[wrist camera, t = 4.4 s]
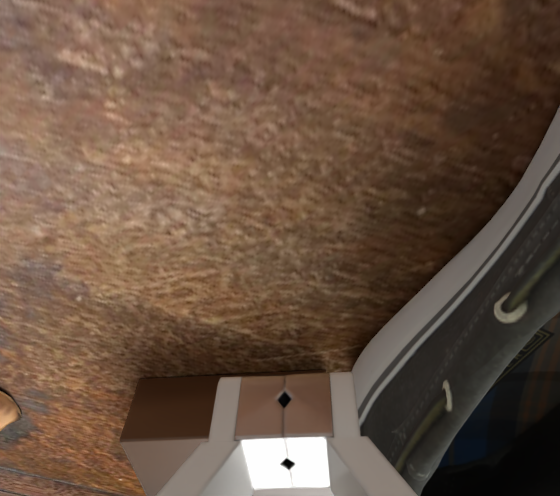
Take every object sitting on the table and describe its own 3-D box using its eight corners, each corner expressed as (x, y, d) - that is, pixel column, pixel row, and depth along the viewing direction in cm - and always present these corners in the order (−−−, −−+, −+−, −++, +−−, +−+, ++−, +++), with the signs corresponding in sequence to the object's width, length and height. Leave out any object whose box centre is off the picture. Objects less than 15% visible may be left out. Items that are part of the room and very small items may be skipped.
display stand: (138, 377, 21) (118, 441, 19) (326, 368, 20) (330, 433, 18) (180, 479, 26) (168, 540, 23) (334, 474, 25) (338, 537, 23)
